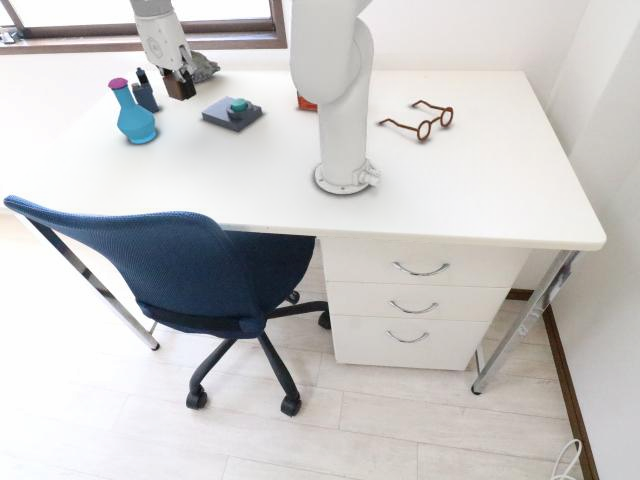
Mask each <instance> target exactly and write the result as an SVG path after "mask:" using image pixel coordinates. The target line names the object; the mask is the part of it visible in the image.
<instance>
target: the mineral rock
mask: <svg viewBox="0 0 640 480" xmlns="http://www.w3.org/2000/svg"><path fill="white" fill-rule="evenodd" d="M190 52H191V56H192V61H193V62H194V64H195V65H196V66H197V70H196V71H195V72H194V74H193V78H192V80H193V83H194V84H196V83H200V82H202V81H204V80H208V79H210V78H211V76H214V74H215V73H218V72H220V71H221V68H222V67H221V66H219V63H218V62H216V61H213V60H212V61H211V60H209V59H208V58H207V56H206V55H204V54H203V53H201V52H199V51H195V50H191V49H190ZM182 64H183V63H182ZM181 71H183V72H184V71H185V69H184V68H183V69H181Z"/></svg>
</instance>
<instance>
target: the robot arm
mask: <svg viewBox="0 0 640 480" xmlns="http://www.w3.org/2000/svg"><path fill="white" fill-rule="evenodd" d="M373 1H374V0H290V2H289V71H290V77H291V80H292V83H293V86H294V88H295V89H296V92H297V91H298V92H299V94H300V95H301V96H302V97H303V98H304V99H305V100H307V101H309V102H311V103H313V104H317V107H318V111H317V122H318V136H319V137H318V139H319V151H320V163H319V164H318V165H317V166H316V168H315V172H314V178H315V182H316V184H317V185H318V187H320V188H321V189H322V190H324V191H326V192H328V193H332V194H336V195H351V194H354V193H358V192H360V191H362V190H364V189H365V188H366V187H367V186H369V185H370V186H373V187H376V188H378V187H380V186H379V185H381V181H382V179H381V177H380V176H381V173H382V172H381V170H378V169H374V168H372V166H371V158H367V136H368V135H367V132H368V112H369V95H370V94H369V93H370V84H371V77H372V70H373V64H374V56H375V55H374V51H375V45H374V38H373V35H372V33H371V31H370V30H371V29H370V28H369V26H368V25H367V23H365V21H364V20H362V19H361V18H360V17H358V16H359V15H360V14H361V13H363V12H364V11H365V10H366V8H368V7H369V6H370V4H371V3H372V2H373ZM129 3H130V5H131V9H132V11H133V17H134V21H135V27H136V31H137V34H138V36H139V37H138V38H139V40H140V43H141V46H142V49H143V52H144V54H145V57H146V59H147V61H148V62H149V63H150V64H152V65H154V66H155V67H156V68H157V69H158V71H159V75H160V76H161V77H162V78H163V77H165V76H167V75H168V74H170V73H172V72H174V71H176V72H177V75H178V77H179V79H180V81H181V82H179V84H180V86H181V89H182V92H183V95H184V98H185V99H186V101H188V100H190V99H191V98H193V97H195V96H196V95H197V93H196V92H197V89H196V85H195V83H193V80H192V78H193V74H194V72H195V71H196V70H197V66H196V65H195V64H194V62H193V61H192V56H191V52H190V50H191V49H190V46H189V43H188V42H189V41H188V40H187V36H186V34H185V32H184V29H183V26H182V25H181V22H180V20H179V17H178V15H177V13H176V11H175V7H174V4H173V1H172V0H129ZM182 63H183V64H182ZM183 68H184V69H185V71H184V73H182V71H181V69H183ZM195 89H196V90H195Z"/></svg>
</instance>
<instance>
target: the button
mask: <svg viewBox="0 0 640 480" xmlns="http://www.w3.org/2000/svg"><path fill="white" fill-rule="evenodd" d="M231 107H232V110H233V111H241V110H244V109H246V108H247V104H246V99H245V98H242V97H237V98H234V100H232V101H231Z"/></svg>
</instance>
